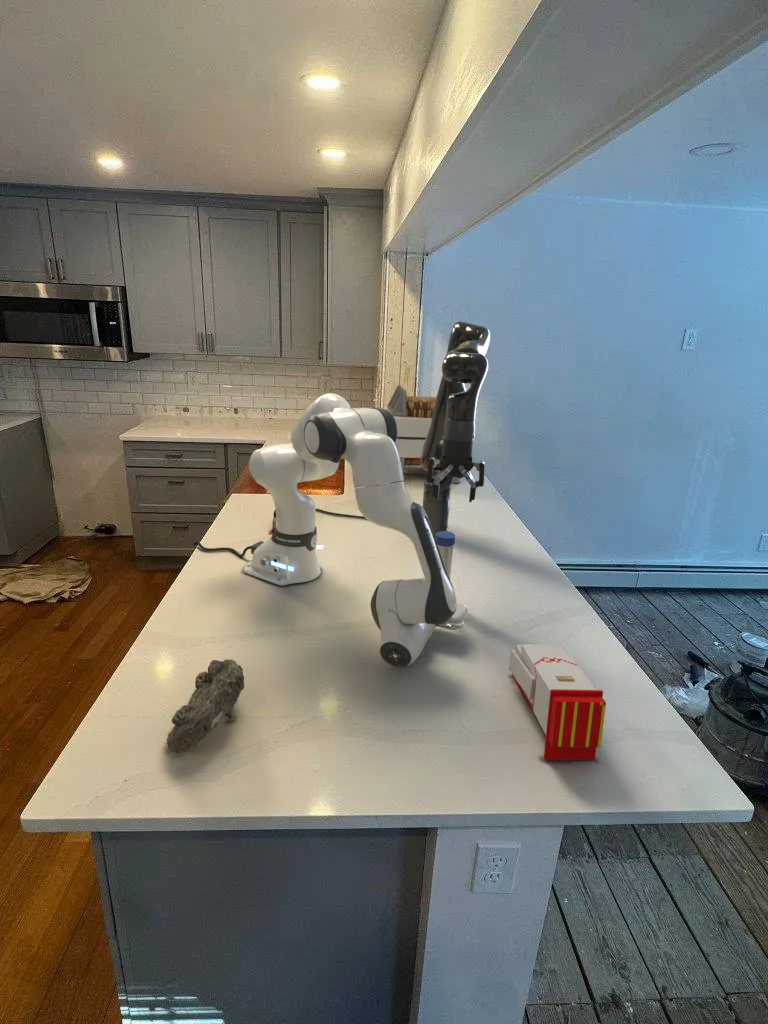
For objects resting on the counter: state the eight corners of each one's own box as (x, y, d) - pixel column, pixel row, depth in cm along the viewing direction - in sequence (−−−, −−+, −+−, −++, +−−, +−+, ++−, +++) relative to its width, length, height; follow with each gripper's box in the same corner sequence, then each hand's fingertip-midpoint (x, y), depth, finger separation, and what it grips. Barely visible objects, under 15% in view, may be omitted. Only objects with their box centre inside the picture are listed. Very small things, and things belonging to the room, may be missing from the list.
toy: (558, 627, 126) (616, 698, 97) (552, 682, 129) (607, 767, 99) (504, 626, 126) (545, 697, 96) (499, 681, 128) (538, 766, 99)
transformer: (382, 463, 289) (386, 382, 275) (445, 464, 293) (451, 384, 279) (390, 482, 257) (394, 392, 243) (460, 483, 261) (468, 394, 247)
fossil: (192, 660, 117) (244, 628, 112) (224, 691, 120) (276, 661, 115) (142, 746, 98) (202, 712, 93) (182, 779, 101) (242, 748, 96)
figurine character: (291, 537, 195) (296, 518, 209) (290, 518, 192) (296, 499, 206) (271, 537, 195) (278, 517, 209) (270, 517, 192) (277, 498, 205)
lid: (446, 537, 151) (446, 529, 150) (459, 544, 147) (459, 536, 146) (430, 540, 148) (431, 533, 148) (443, 547, 144) (444, 540, 144)
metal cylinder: (440, 598, 157) (446, 531, 150) (451, 605, 153) (457, 537, 147) (428, 601, 154) (433, 534, 148) (438, 609, 151) (444, 540, 144)
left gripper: (461, 618, 129) (474, 592, 141) (378, 599, 136) (397, 576, 148) (459, 642, 131) (472, 614, 143) (377, 622, 138) (396, 597, 150)
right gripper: (488, 436, 141) (482, 498, 147) (431, 431, 143) (427, 493, 149) (488, 442, 134) (481, 507, 140) (428, 437, 136) (424, 501, 142)
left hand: (433, 594), depth 146 cm, fingers open, 8 cm apart
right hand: (453, 499), depth 144 cm, fingers open, 8 cm apart
